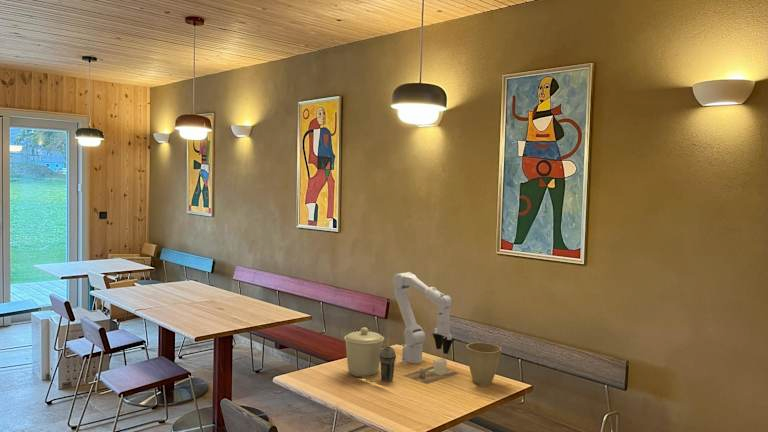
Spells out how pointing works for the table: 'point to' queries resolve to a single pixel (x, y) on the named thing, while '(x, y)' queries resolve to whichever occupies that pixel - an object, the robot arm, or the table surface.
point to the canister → (363, 352)
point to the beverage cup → (387, 362)
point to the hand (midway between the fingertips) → (442, 351)
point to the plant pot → (483, 362)
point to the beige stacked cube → (440, 365)
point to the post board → (429, 375)
